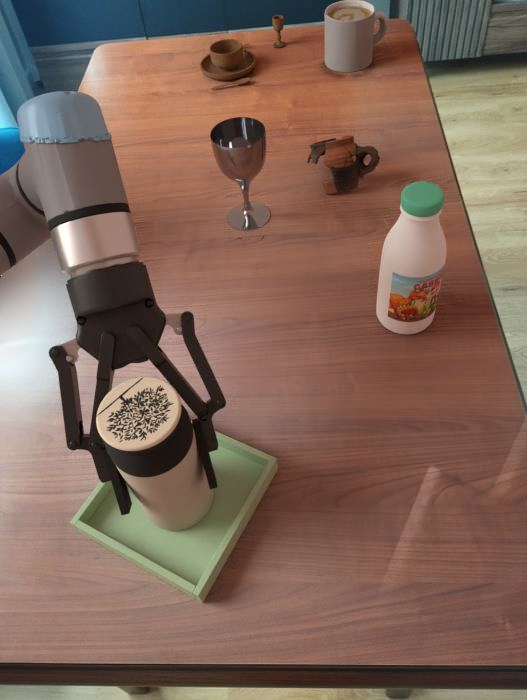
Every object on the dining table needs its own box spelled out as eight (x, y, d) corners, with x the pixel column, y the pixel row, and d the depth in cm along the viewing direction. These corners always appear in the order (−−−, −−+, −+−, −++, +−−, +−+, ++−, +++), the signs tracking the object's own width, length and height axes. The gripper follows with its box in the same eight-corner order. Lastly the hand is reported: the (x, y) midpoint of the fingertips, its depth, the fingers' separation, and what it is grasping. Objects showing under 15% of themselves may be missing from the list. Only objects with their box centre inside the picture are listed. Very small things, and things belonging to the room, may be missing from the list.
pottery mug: (307, 199, 97) (298, 147, 94) (321, 189, 105) (313, 141, 102) (379, 187, 92) (372, 132, 89) (388, 177, 100) (381, 127, 97)
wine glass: (214, 216, 96) (199, 133, 84) (251, 194, 98) (241, 110, 87) (244, 239, 91) (233, 155, 80) (283, 215, 94) (277, 130, 82)
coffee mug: (330, 75, 121) (331, 24, 113) (319, 54, 127) (319, 4, 119) (393, 65, 121) (398, 13, 113) (380, 44, 127) (383, -7, 119)
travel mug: (228, 500, 64) (201, 413, 50) (168, 547, 61) (121, 469, 47) (188, 451, 68) (152, 359, 54) (130, 493, 66) (76, 407, 51)
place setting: (196, 55, 131) (192, 27, 127) (283, 40, 132) (282, 12, 128) (206, 93, 120) (201, 64, 116) (301, 76, 121) (299, 47, 117)
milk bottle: (365, 322, 79) (374, 202, 63) (391, 286, 83) (405, 164, 67) (418, 344, 76) (442, 223, 60) (443, 306, 79) (471, 182, 64)
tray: (77, 531, 64) (69, 522, 62) (161, 415, 72) (156, 404, 70) (202, 603, 58) (198, 596, 56) (278, 468, 67) (277, 458, 65)
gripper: (211, 245, 59) (267, 456, 62) (5, 297, 57) (72, 513, 60) (214, 237, 52) (278, 478, 54) (-23, 296, 50) (56, 544, 52)
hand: (170, 496), depth 57 cm, fingers closed on travel mug, 8 cm apart
